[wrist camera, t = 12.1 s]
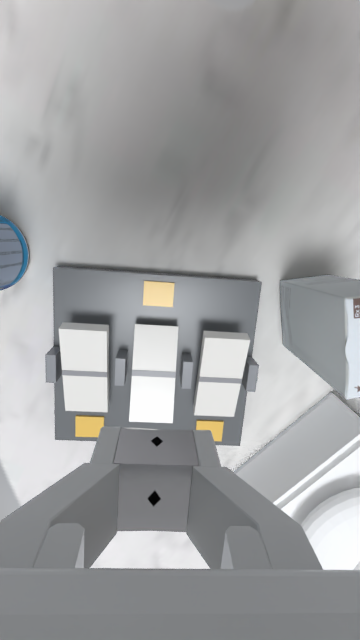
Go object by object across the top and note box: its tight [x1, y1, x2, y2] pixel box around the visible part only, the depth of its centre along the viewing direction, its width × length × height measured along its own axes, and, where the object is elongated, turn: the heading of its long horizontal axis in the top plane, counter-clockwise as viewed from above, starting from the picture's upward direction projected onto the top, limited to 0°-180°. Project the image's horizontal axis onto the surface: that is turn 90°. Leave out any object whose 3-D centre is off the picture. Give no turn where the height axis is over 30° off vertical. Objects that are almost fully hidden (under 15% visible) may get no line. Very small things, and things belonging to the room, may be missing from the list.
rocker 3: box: [193, 331, 250, 417], centre depth 35 cm, size 10×4×2 cm, turn 175°
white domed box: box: [233, 392, 360, 570], centre depth 37 cm, size 18×18×16 cm
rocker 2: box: [129, 324, 178, 423], centre depth 35 cm, size 10×4×2 cm, turn 176°
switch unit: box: [45, 266, 262, 446], centre depth 37 cm, size 20×22×5 cm
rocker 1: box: [59, 322, 109, 412], centre depth 34 cm, size 10×4×2 cm, turn 175°
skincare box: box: [280, 275, 360, 400], centre depth 32 cm, size 8×6×15 cm
